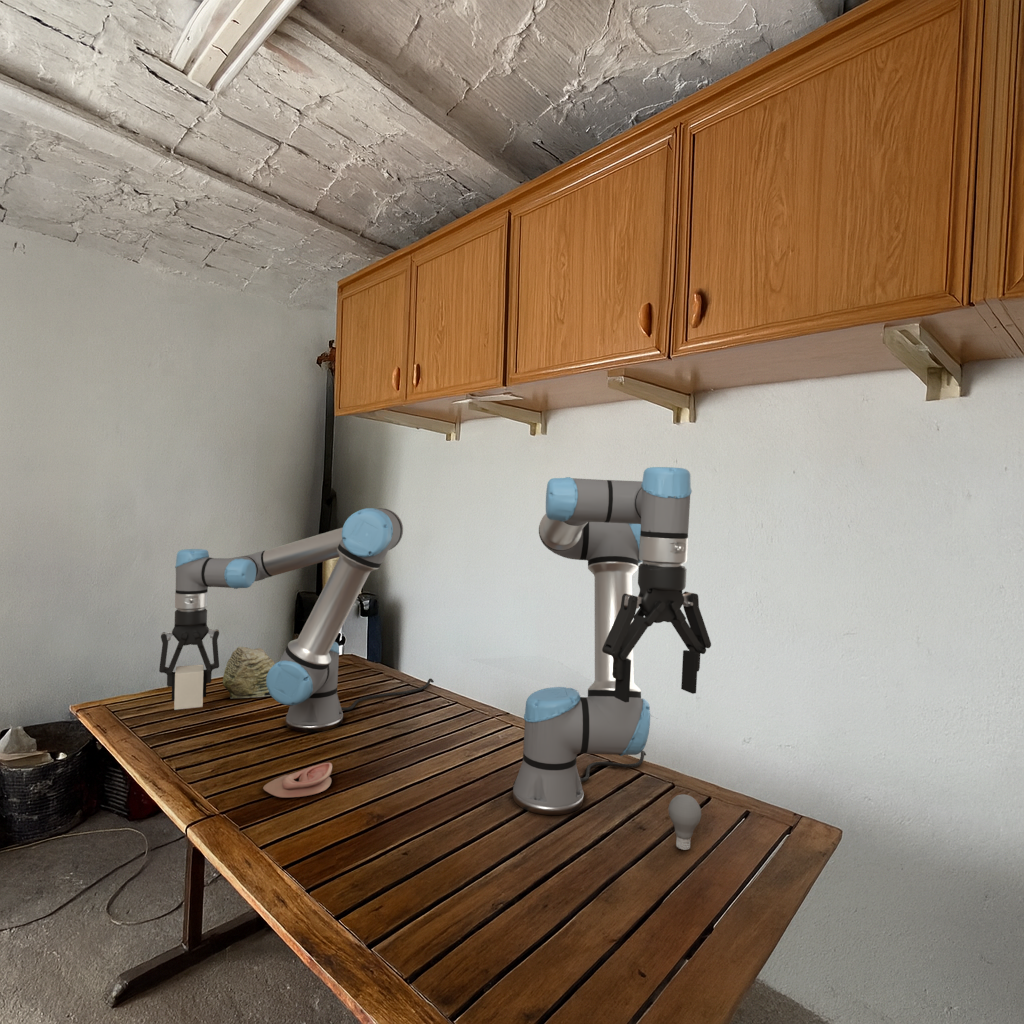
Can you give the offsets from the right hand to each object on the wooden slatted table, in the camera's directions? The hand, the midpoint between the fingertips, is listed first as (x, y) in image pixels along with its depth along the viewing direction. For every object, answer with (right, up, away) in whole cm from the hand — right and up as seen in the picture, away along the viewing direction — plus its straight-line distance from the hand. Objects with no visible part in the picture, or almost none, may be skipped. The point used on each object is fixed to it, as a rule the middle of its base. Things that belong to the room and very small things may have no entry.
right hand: (656, 695), depth 102 cm
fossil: (-104, -28, +96) cm, 144 cm away
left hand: (-107, -19, +63) cm, 126 cm away
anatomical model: (-70, -30, +36) cm, 84 cm away
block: (-107, -21, +63) cm, 126 cm away
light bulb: (+9, -34, +17) cm, 39 cm away
